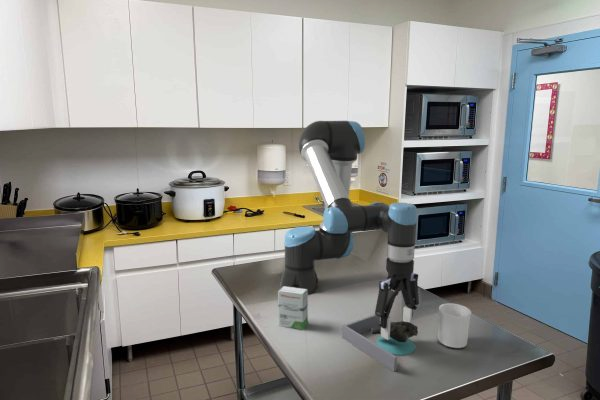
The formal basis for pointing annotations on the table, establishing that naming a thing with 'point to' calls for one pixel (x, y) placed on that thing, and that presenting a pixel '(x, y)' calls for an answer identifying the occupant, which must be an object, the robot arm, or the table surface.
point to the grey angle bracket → (378, 353)
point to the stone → (398, 330)
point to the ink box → (293, 307)
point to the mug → (453, 325)
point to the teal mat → (396, 346)
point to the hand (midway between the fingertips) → (396, 332)
